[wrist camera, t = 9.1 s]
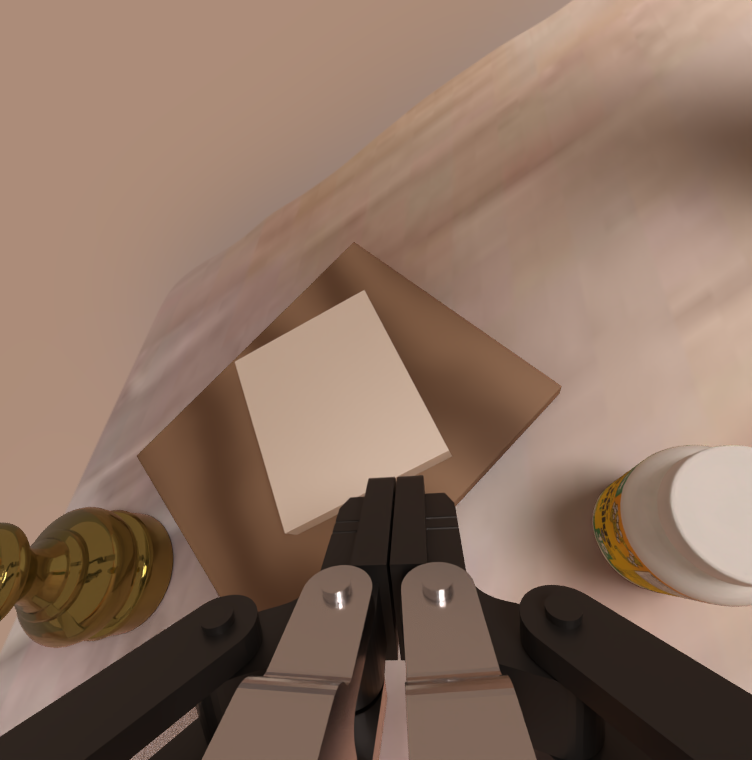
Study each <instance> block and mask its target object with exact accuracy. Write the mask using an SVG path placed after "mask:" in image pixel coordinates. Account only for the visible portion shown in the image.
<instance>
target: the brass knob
mask: <svg viewBox="0 0 752 760" xmlns="http://www.w3.org/2000/svg"><path fill="white" fill-rule="evenodd" d="M172 565H173V552H172V545H171V541H170V538H169V535H168V533H167V531H166V530H165V528H164V527H163V525H162V524H161V523H160V522H159V521H158V520H156V519H155V518H153V517H151V516H149V515H146V514H139V513H130V512H127V511H123V510H113V511H109V510H105V509H102V508H97V507H85V508H79V509H76V510H73V511H71V512H68V513H66V514H64V515H63V516H61V517H59V518H58V519H56V520H55V521H54V522H53V523H51V524H50V525H49V526H48V527H47V528H46V529H45V530H44V531H43V532H42V533H41V534H40V536H39V537H38V538H37V539H36V541H35V542H34V543H33V544H32V545H31V546H30V545H29V542H28V540H27V537H26V535H25V534H24V532H23V531H22V530H21V529H20V528H19V527H17V526H15V525H13V524H10V523H0V621H1V620H2V619H3V618H4V617H5V616H6V615H7V614H8V613H9V611H10V610H11V609H12V607H13V606H15V609H16V612H17V616H18V619H19V622H20V625H21V627H22V628H23V630H24V632H25V633H26V634H27V635H28V636H29V638H31V639H32V640H33V641H34V642H36V643H38V644H40V645H42V646H45V647H52V648H61V647H67V646H70V645H74V644H76V643H79V642H82V641H96V640H100V639H103V638H106V637H108V636H113V635H119V634H123V633H126V632H129V631H131V630H133V629H135V628H136V627H138V626H139V625H141V624H142V623H143V622H144V621H146V620H147V619H148V618H149V617H150V616H151V614H152V613H153V612H154V611H155V609H156V608H157V607H158V605H159V603H160V602H161V600H162V598H163V596H164V594H165V592H166V590H167V587H168V584H169V581H170V577H171V572H172Z"/></svg>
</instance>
